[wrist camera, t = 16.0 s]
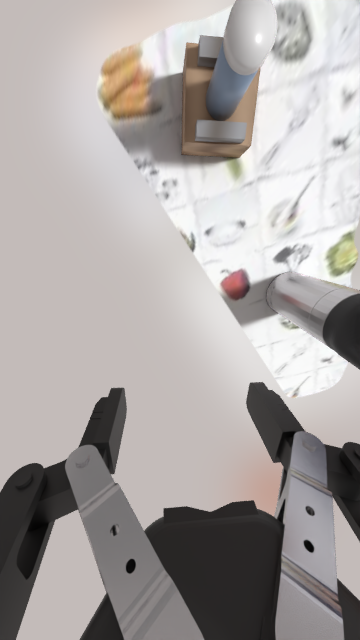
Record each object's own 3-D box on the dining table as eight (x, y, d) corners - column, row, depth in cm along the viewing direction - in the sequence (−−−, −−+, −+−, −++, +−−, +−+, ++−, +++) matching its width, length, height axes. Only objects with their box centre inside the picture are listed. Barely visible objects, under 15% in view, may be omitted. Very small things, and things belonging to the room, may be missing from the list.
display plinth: (247, 77, 31) (268, 39, 25) (239, 157, 35) (255, 141, 29) (182, 71, 30) (187, 31, 24) (181, 154, 34) (185, 137, 28)
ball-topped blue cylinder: (241, 79, 27) (282, -5, 18) (235, 124, 29) (270, 67, 20) (207, 74, 27) (232, -16, 17) (203, 119, 28) (224, 59, 19)
